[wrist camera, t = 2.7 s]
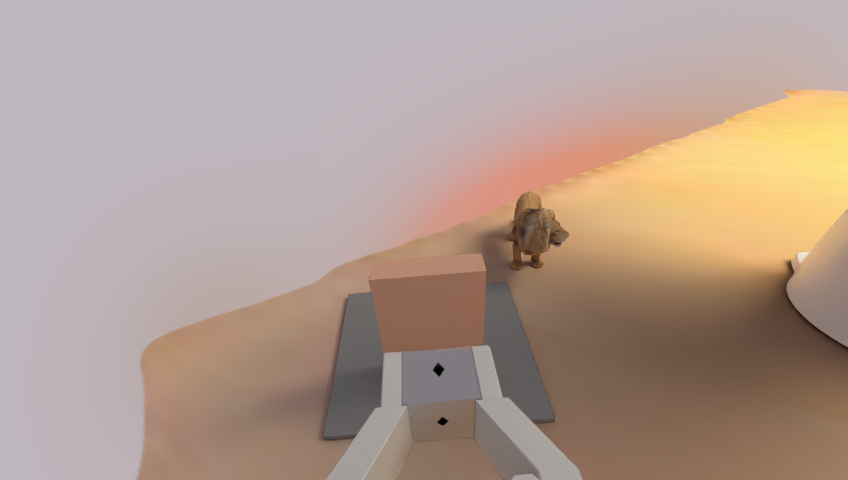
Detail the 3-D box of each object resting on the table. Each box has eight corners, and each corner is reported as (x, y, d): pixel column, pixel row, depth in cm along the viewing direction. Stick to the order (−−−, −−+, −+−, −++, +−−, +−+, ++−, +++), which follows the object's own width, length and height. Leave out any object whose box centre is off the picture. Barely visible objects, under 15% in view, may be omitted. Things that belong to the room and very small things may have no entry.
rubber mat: (505, 284, 41) (506, 281, 41) (554, 421, 28) (555, 417, 28) (349, 297, 41) (348, 294, 41) (324, 439, 28) (323, 436, 28)
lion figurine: (562, 288, 41) (577, 220, 35) (514, 289, 41) (522, 222, 36) (534, 220, 53) (542, 161, 47) (497, 221, 53) (501, 163, 48)
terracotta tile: (477, 357, 33) (481, 251, 26) (481, 377, 31) (486, 270, 24) (390, 364, 33) (371, 260, 26) (389, 385, 31) (369, 280, 24)
